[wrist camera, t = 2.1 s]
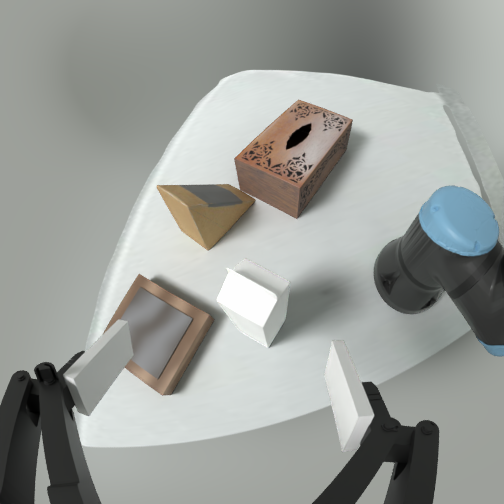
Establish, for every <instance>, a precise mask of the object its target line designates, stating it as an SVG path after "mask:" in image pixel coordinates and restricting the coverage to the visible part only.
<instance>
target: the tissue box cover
mask: <svg viewBox="0 0 504 504" xmlns="http://www.w3.org/2000/svg"><path fill="white" fill-rule="evenodd" d="M352 121H353V120H352V119H349V118H347V117H345V116H342V115H340V114H337V113H334V112H332V111H329V110H327V109H324V108H321V107H318V106H315V105H313V104H310V103H307V102H304V101H301V100H298V101H297V102H295V103H294V104H293V105H292V106H291V107H290V108H288V109H287V110H286V111H285V112H284V113H283V114H282V115H280V116H279V117H278V118H277V119H276V120H275V121H274V122H273V123H272V124H270V125H269V126H268V127H267V128H266V129H265V130H264V131H263V132H262V133H261V134H260V135H259V136H257V137H256V138H255V139H254V140H253V141H252V142H251V143H250V144H249V145H248V146H247V147H246V148H245V149H244V150H243V151H242V152H241V153H240V154H239V155H238V156H237V157H236V158H235V159H234V160H235V165H236V170H237V176H238V181H239V186H240V190H242V191H244V192H246V193H248V194H250V195H252V196H254V197H256V198H258V199H260V200H262V201H264V202H265V203H267V204H269V205H271V206H273V207H275V208H277V209H279V210H281V211H283V212H285V213H287V214H289V215H290V216H292V217H294V218H296V219H297V218H298V217H299V215H300V214H301V213H302V211H303V210H304V208H305V207H306V206H307V204H308V203H309V201H310V200H311V199H312V197H313V196H314V194H315V193H316V192H317V190H318V189H319V187H320V186H321V185H322V183H323V182H324V180H325V179H326V178H327V176H328V175H329V173H330V172H331V171H332V169H333V168H334V166H335V165H336V164H337V162H338V161H339V159H340V158H341V156H342V155H343V154H344V152H345V151H346V149H347V145H348V140H349V135H350V131H351V126H352ZM298 129H299V130H298ZM296 130H297V131H296ZM295 131H296V132H295ZM303 131H304V132H303ZM294 132H295V133H294ZM308 133H309V134H308Z"/></svg>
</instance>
